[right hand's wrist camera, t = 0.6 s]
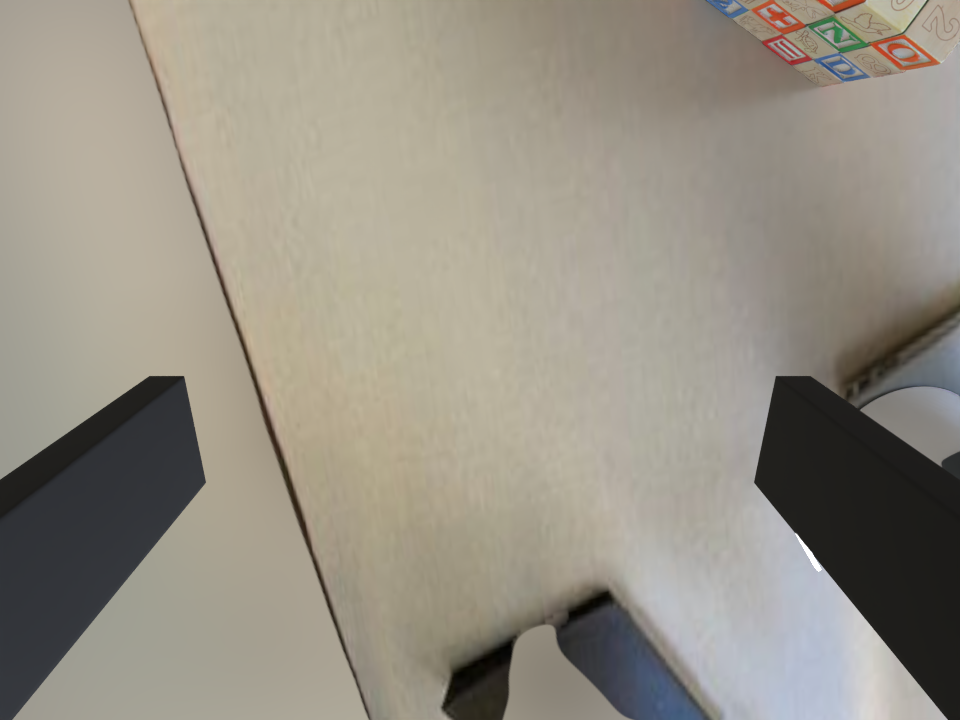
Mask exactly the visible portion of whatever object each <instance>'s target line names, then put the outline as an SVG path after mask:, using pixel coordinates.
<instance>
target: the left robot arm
mask: <svg viewBox="0 0 960 720" xmlns="http://www.w3.org/2000/svg"><path fill="white" fill-rule="evenodd" d="M860 411H861V412H863V413H864V414H866V415H867V416H869V417H870V418H871V419H873V420H874V421H876V422H877V423H879V424H880V425H882V426H883V427H884V428H886V429H887V430H889V431H890V432H892V433H893V434H895V435H896V436H897V437H899V438H900V439H902V440H903V441H905V442H906V443H908V444H909V445H910V446H912V447H913V448H915V449H916V450H918V451H919V452H920V453H922V454H923V455H925V456H926V457H928V458H929V459H931V460H932V461H933V462H935V463H936V464H938V465H939V466H941V467H942V468H944V469H945V470H946V471H948V472H949V473H951V474H952V475H954V476H955V477H957V478H958V479H959V480H960V396H959V395H957V394H955V393H953V392H951V391H949V390H946V389H942V388H937V387H929V386H919V387H910V388H905V389H901V390H897V391H894V392H891V393H888V394H886V395H884V396H881V397H879V398H877V399H876V400H874V401H872V402H870V403H869V404H867V405H866V406H864V407H863V408H862V409H860ZM796 535H797V534H796ZM797 537H798V536H797ZM798 539H799V541H800V542H801V544H802V546H803V548H804V549H805V551H806V553H807V555H808V556H809V558H810V560H811V562H812V563H813V565H814V567H815V568H816V569H817V570H818V571H820V570H821V569H820V567H819V565H818V563H817V562H816V560H815V558H814V556H813V554H812V553H811V552H810V550H809V549H808V548H807V547H806V545H805V544H804V543H803V542H802V541H801V539H800V538H799V537H798Z"/></svg>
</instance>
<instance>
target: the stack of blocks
mask: <svg viewBox="0 0 960 720" xmlns="http://www.w3.org/2000/svg"><path fill="white" fill-rule="evenodd" d="M706 1H708V2H709V3H710V4H712V5H713V6H714V7H716V8H717V9H718V10H720V11H721V12H722V13H724V14H725V15H726V16H728V17H729V18H732V19H733V20H734V21H735V22H736V23H738V24H739V25H740V26H742V27H743V28H744V29H746V30H747V31H749V32H750V33H751V34H753V35H754V36H755V37H757V38H758V39H759V40H761V41H762V43H763V44H764V45H765V46H766V47H768V48H769V49H770V50H772V51H773V52H774V53H776V54H777V55H778V56H780V57H781V58H782V59H784V60H785V61H786V62H788V63H789V64H790V65H792V66H793V67H794V68H795V69H796V70H798V71H799V72H800V73H802V74H803V75H804V76H806V77H807V78H808V79H810V80H811V81H812V82H814V83H815V84H817V85H818V86H820V87H824V86H829V85H835V84H840V83H844V82H847V81H853V80H858V79H864V78H871V77H880V76H887V75H892V74H897V73H903V72H905V71H906V70H910V69H916V68H922V67H927V66H933V65H938V64H941V63H942V62H943V61H944V60H945V59H946V57H947V56H948V55H949V53H950V52H951V51H952V50H953V48H954V47H955V46H956V44H957V43H958V42H959V41H960V0H706Z"/></svg>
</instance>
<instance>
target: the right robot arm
mask: <svg viewBox="0 0 960 720" xmlns="http://www.w3.org/2000/svg"><path fill="white" fill-rule="evenodd" d="M205 483H206V481H205V476H204V471H203V466H202V461H201V456H200V451H199V447H198V442H197V437H196V432H195V427H194V422H193V417H192V413H191V408H190V403H189V398H188V393H187V388H186V383H185V378H184V376H149V377H148V378H146V379H145V380H143V381H142V382H140V383H139V384H138V385H136V386H135V387H133V388H132V389H130V390H129V391H127V392H126V393H125V394H123V395H122V396H120V397H119V398H117V399H116V400H114V401H113V402H112V403H110V404H109V405H107V406H106V407H104V408H103V409H102V410H100V411H99V412H97V413H96V414H94V415H93V416H91V417H90V418H89V419H87V420H86V421H84V422H83V423H81V424H80V425H78V426H77V427H76V428H74V429H73V430H71V431H70V432H68V433H67V434H65V435H64V436H63V437H61V438H60V439H58V440H57V441H55V442H54V443H52V444H51V445H50V446H48V447H47V448H45V449H44V450H42V451H41V452H40V453H38V454H37V455H35V456H34V457H32V458H31V459H29V460H28V461H27V462H25V463H24V464H22V465H21V466H19V467H18V468H16V469H15V470H14V471H12V472H11V473H9V474H8V475H6V476H5V477H3V478H2V479H1V480H0V720H12V719H13V718H14V717H15V716H16V714H17V713H18V712H19V711H20V710H21V708H22V707H23V706H24V705H25V703H26V702H27V701H28V700H29V699H30V697H31V696H32V695H33V694H34V692H35V691H36V690H37V689H38V688H39V686H40V685H41V684H42V683H43V681H44V680H45V679H46V678H47V676H48V675H49V674H50V673H51V672H52V670H53V669H54V668H55V667H56V665H57V664H58V663H59V662H60V661H61V659H62V658H63V657H64V656H65V654H66V653H67V652H68V651H69V650H70V648H71V647H72V646H73V645H74V643H75V642H76V641H77V640H78V639H79V637H80V636H81V635H82V634H83V632H84V631H85V630H86V629H87V628H88V626H89V625H90V624H91V623H92V621H93V620H94V619H95V618H96V617H97V615H98V614H99V613H100V612H101V610H102V609H103V608H104V607H105V605H106V604H107V603H108V602H109V600H110V599H111V598H112V597H113V596H114V594H115V593H116V592H117V591H118V590H119V588H120V587H121V586H122V585H123V583H124V582H125V581H126V580H127V579H128V577H129V576H130V575H131V574H132V572H133V571H134V570H135V569H136V568H137V566H138V565H139V564H140V563H141V561H142V560H143V559H144V558H145V556H146V555H147V554H148V553H149V552H150V550H151V549H152V548H153V547H154V545H155V544H156V543H157V542H158V540H159V539H160V538H161V537H162V536H163V534H164V533H165V532H166V531H167V530H168V528H169V527H170V526H171V525H172V523H173V522H174V521H175V520H176V519H177V517H178V516H179V515H180V514H181V512H182V511H183V510H184V509H185V508H186V506H187V505H188V504H189V503H190V501H191V500H192V499H193V498H194V496H195V495H196V494H197V493H198V492H199V490H200V489H201V488H202V487H203V485H204V484H205ZM754 483H755V484H756V485H757V487H758V488H759V489H760V490H761V492H762V493H763V494H764V495H765V497H766V498H767V499H768V500H769V501H770V503H771V504H772V505H773V506H774V508H775V509H776V510H777V511H778V512H779V514H780V515H781V516H782V517H783V519H784V520H785V521H786V522H787V523H788V525H789V526H790V527H791V528H792V530H793V531H794V532H795V533H796V534H797V536H798V537H799V538H800V539H801V541H802V542H803V543H804V544H805V545H806V547H807V548H808V549H809V550H810V552H811V553H812V554H813V555H814V557H815V558H816V559H817V560H818V561H819V563H820V564H821V565H822V566H823V568H824V569H825V570H826V571H827V572H828V574H829V575H830V576H831V577H832V579H833V580H834V581H835V582H836V583H837V585H838V586H839V587H840V588H841V590H842V591H843V592H844V593H845V594H846V596H847V597H848V598H849V599H850V601H851V602H852V603H853V604H854V605H855V607H856V608H857V609H858V610H859V612H860V613H861V614H862V615H863V617H864V618H865V619H866V620H867V621H868V623H869V624H870V625H871V626H872V628H873V629H874V630H875V631H876V632H877V634H878V635H879V636H880V637H881V639H882V640H883V641H884V642H885V643H886V645H887V646H888V647H889V648H890V650H891V651H892V652H893V653H894V654H895V656H896V657H897V658H898V659H899V661H900V662H901V663H902V664H903V665H904V667H905V668H906V669H907V670H908V672H909V673H910V674H911V675H912V676H913V678H914V679H915V680H916V681H917V683H918V684H919V685H920V686H921V688H922V689H923V690H924V691H925V692H926V694H927V695H928V696H929V697H930V699H931V700H932V701H933V702H934V703H935V705H936V706H937V707H938V708H939V710H940V711H941V712H942V713H943V714H944V716H945V717H946V718H947V719H948V720H960V480H959V479H958V478H957V477H955V476H954V475H952V474H951V473H949V472H948V471H946V470H945V469H944V468H942V467H941V466H939V465H938V464H936V463H935V462H933V461H932V460H931V459H929V458H928V457H926V456H925V455H923V454H922V453H920V452H919V451H918V450H916V449H915V448H913V447H912V446H910V445H909V444H908V443H906V442H905V441H903V440H902V439H900V438H899V437H897V436H896V435H895V434H893V433H892V432H890V431H889V430H887V429H886V428H884V427H883V426H882V425H880V424H879V423H877V422H876V421H874V420H873V419H871V418H870V417H869V416H867V415H866V414H864V413H863V412H861V411H860V410H859V409H857V408H856V407H854V406H853V405H851V404H850V403H848V402H847V401H846V400H844V399H843V398H841V397H840V396H838V395H837V394H835V393H834V392H833V391H831V390H830V389H828V388H827V387H825V386H824V385H822V384H821V383H820V382H818V381H817V380H815V379H814V378H812V377H811V376H776V378H775V383H774V388H773V393H772V398H771V403H770V408H769V412H768V417H767V422H766V427H765V432H764V437H763V442H762V446H761V451H760V456H759V461H758V466H757V471H756V476H755V481H754Z"/></svg>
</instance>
